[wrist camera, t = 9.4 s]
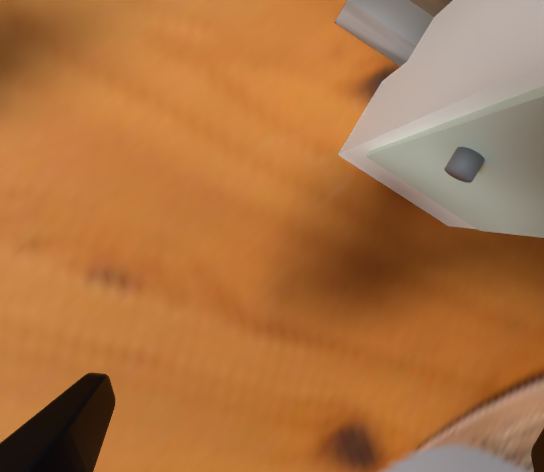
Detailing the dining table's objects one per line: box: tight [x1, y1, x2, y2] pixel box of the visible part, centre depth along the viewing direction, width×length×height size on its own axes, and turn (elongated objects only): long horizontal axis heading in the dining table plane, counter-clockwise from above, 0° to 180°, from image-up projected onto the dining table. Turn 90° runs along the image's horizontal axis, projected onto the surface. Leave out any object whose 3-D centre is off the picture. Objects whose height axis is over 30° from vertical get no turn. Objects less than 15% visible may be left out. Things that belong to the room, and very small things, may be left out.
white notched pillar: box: [338, 0, 544, 238], centre depth 12 cm, size 6×6×13 cm
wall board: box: [335, 0, 453, 66], centre depth 15 cm, size 3×18×8 cm, turn 60°
